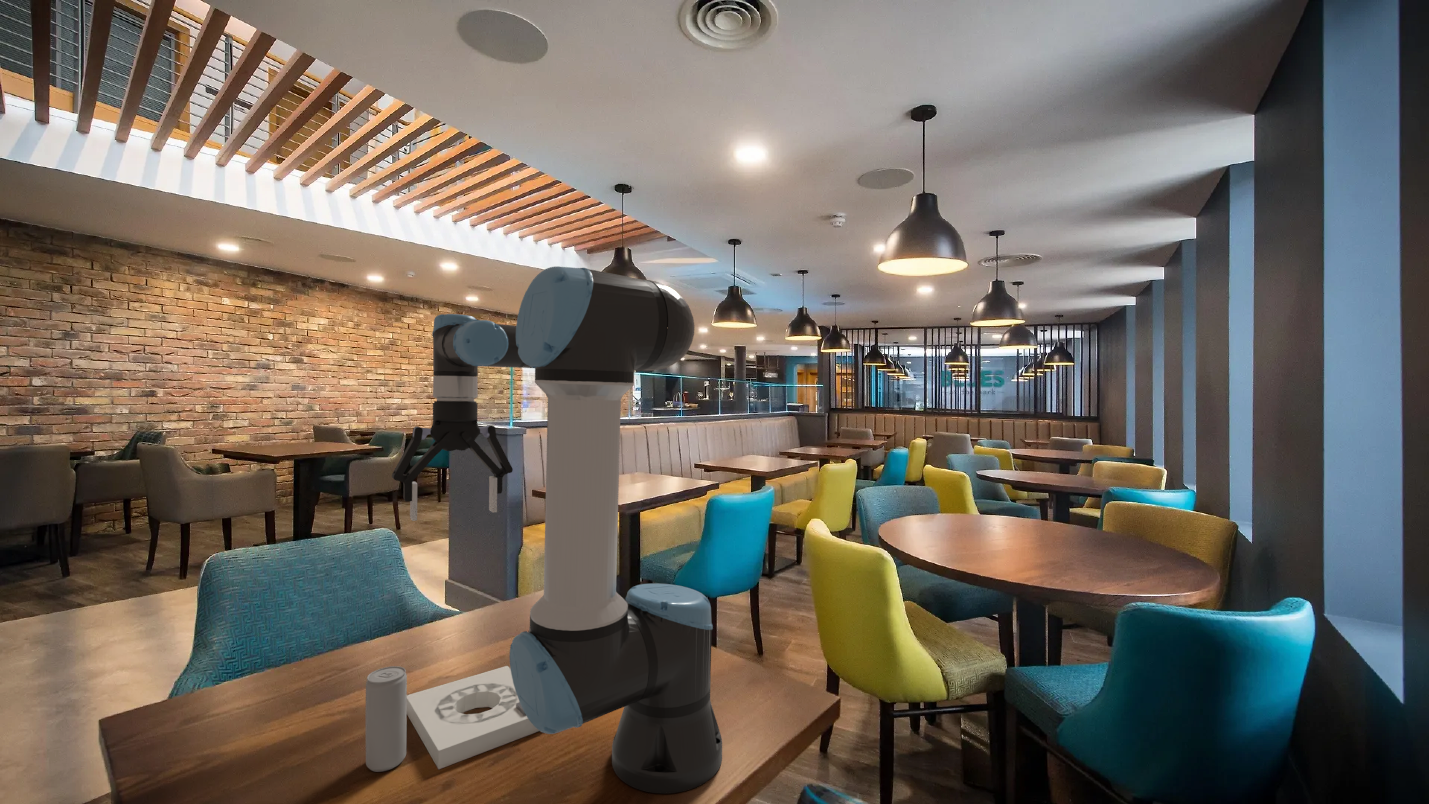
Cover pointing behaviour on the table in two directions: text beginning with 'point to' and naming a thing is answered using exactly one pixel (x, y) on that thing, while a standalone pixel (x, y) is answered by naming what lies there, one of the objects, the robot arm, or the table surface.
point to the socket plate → (468, 716)
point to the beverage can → (386, 718)
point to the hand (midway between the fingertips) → (454, 515)
